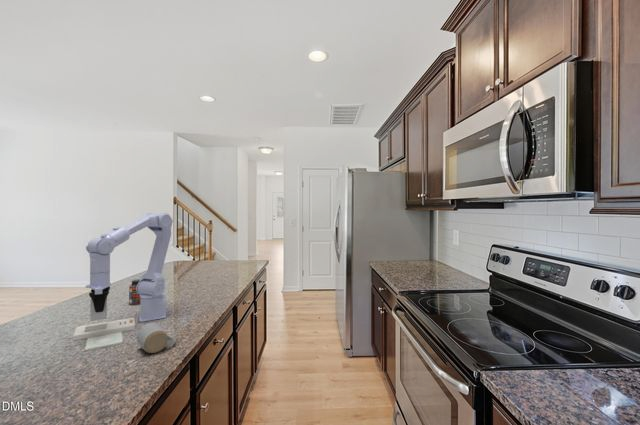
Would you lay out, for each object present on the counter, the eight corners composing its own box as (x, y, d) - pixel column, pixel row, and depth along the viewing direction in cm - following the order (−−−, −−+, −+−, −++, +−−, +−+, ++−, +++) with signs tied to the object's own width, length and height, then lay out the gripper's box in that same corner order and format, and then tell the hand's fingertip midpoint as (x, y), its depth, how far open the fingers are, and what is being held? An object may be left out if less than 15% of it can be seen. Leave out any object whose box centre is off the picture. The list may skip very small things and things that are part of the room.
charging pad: (122, 333, 109) (122, 331, 109) (122, 343, 101) (122, 341, 101) (87, 340, 104) (87, 338, 104) (84, 351, 95) (84, 349, 95)
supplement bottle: (130, 306, 141) (130, 282, 141) (127, 303, 145) (128, 280, 145) (144, 303, 145) (144, 280, 145) (142, 300, 149) (142, 278, 149)
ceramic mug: (143, 357, 91) (144, 332, 91) (136, 349, 97) (136, 325, 97) (179, 347, 99) (180, 324, 99) (170, 339, 105) (171, 317, 105)
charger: (106, 315, 109) (107, 296, 109) (106, 318, 106) (106, 299, 106) (91, 317, 107) (91, 298, 107) (90, 321, 103) (90, 300, 103)
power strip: (133, 321, 121) (133, 316, 121) (134, 329, 113) (134, 323, 113) (76, 331, 111) (76, 325, 111) (73, 340, 103) (73, 334, 103)
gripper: (88, 269, 110) (87, 306, 110) (83, 276, 98) (83, 318, 98) (111, 267, 114) (111, 303, 114) (109, 274, 102) (109, 314, 102)
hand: (99, 310), depth 106 cm, fingers closed on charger, 4 cm apart
